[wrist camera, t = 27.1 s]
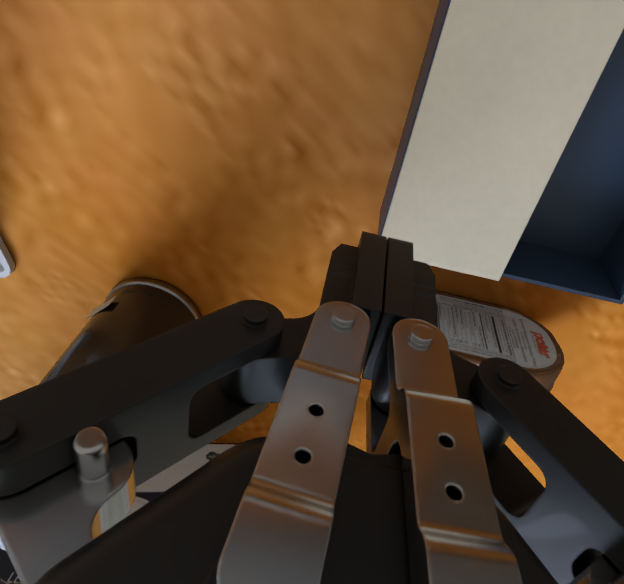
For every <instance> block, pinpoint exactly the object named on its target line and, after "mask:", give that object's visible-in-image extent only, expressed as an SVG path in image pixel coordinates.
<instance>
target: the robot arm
mask: <svg viewBox="0 0 624 584" xmlns="http://www.w3.org/2000/svg"><path fill="white" fill-rule="evenodd" d="M92 315H93V316H92ZM90 316H92V318H91V319H90V320H89V321H88V323H87V324H86V325H85V327H84V328H83V329H82V330H81V332H80V333H79V334H78V335H77V337H76V338H75V339H74V340H73V342H72V343H71V344H70V346H69V347H68V348H67V349H66V351H65V352H64V353H63V354H62V356H61V357H60V358H59V359H58V361H57V362H56V363H55V365H54V366H53V367H52V368H51V370H50V371H49V372H48V373H47V375H46V376H45V377H44V379H43V380H42V381H41V382H40V384H39V385H37V386H34V387H32V388H29V389H27V390H25V391H22V392H20V393H17V394H15V395H13V396H10V397H8V398H5V399H3V400H0V549H2V550H6V551H7V554H8V556H9V558H10V560H11V562H12V564H13V566H14V569H15V571H16V573H17V575H18V577H19V579H20V581H21V583H22V584H624V462H623V461H622V460H621V459H620V458H619V457H618V456H617V455H616V454H615V453H614V452H613V451H612V450H611V449H609V448H608V447H607V446H606V445H605V444H604V443H603V442H602V441H601V440H600V439H599V438H598V437H597V436H596V435H595V434H593V433H592V432H591V431H590V430H589V429H588V428H587V427H586V426H585V425H584V424H583V423H582V422H581V421H580V420H579V419H577V418H576V417H575V416H574V415H573V414H572V413H571V412H570V411H569V410H568V409H567V408H566V407H565V406H564V405H563V404H562V403H560V402H559V401H558V400H557V399H556V398H555V397H554V396H553V395H552V394H551V393H550V392H549V391H548V390H547V389H546V388H544V387H543V386H542V385H541V384H540V383H539V382H538V381H537V380H536V379H535V378H534V377H533V376H532V375H531V374H530V373H529V372H527V371H526V370H525V369H524V368H523V367H521V366H520V365H518V364H516V363H514V362H512V361H510V360H507V359H504V358H497V357H492V358H487V359H485V360H483V361H482V362H481V363H480V365H479V366H478V365H476V364H474V363H471V362H469V361H467V360H465V359H463V358H461V357H459V356H458V355H456V354H455V353H453V352H452V351H451V350H449V346H448V342H447V339H446V337H445V335H444V334H443V333H442V331H440V330H439V329H438V318H437V303H436V289H435V275H434V273H433V272H432V270H431V269H430V267H429V266H428V264H427V263H423V262H419V261H415V260H414V258H413V243H412V242H407V241H403V240H399V239H394V238H390V237H388V239H387V237H385V236H381V235H377V234H372V233H368V232H364V231H363V232H362V234H361V238H360V241H359V245H358V247H354V246H350V245H345V244H341V245H339V246H338V247H337V248H336V249H335V250H333V251H332V255H331V259H330V264H329V268H328V272H327V276H326V280H325V285H324V289H323V293H322V298H321V302H320V306H319V307H318V308H317V310H316V311H315V312H314V313H313V314H311V315H309V316H306V317H303V318H294V319H284V317H283V315H282V313H281V312H280V311H279V310H278V309H277V308H276V307H275V306H273V305H271V304H269V303H267V302H264V301H260V300H244V301H240V302H237V303H235V304H232V305H230V306H227V307H225V308H223V309H220V310H218V311H215V312H213V313H211V314H208V315H206V316H203V317H201V315H200V313H199V311H198V309H197V308H196V306H195V305H194V304H193V302H192V301H191V300H190V299H189V298H188V297H187V296H186V295H184V294H183V293H182V292H181V291H179V290H178V289H176V288H174V287H173V286H171V285H169V284H166V283H164V282H161V281H158V280H154V279H149V278H133V279H128V280H125V281H123V282H121V283H119V284H118V285H116V286H115V287H114V288H113V290H112V291H111V292H110V293H109V295H108V296H107V298H106V300H105V302H104V303H103V304H102V305H100V306H99V307H97V308H95V309H94V310H93V311H92V312H91V313H90V315H89V316H88V317H87V318H89V317H90ZM87 318H86V319H87ZM362 369H363V373H362V378H364V379H368V380H372V386H371V391H370V393H369V396H368V399H367V402H366V452H365V451H363V450H360V449H358V448H356V447H354V446H352V445H350V444H348V440H349V435H350V430H351V425H352V421H353V416H354V411H355V406H356V402H357V397H358V392H359V388H360V382H361V378H360V375H361V372H362ZM278 402H280V403H279V405H278V408H277V411H276V413H275V416H274V419H273V421H272V424H271V427H270V430H269V432H268V435H267V437H259V438H255V439H250V440H247V441H245V442H242V443H239V444H237V445H235V446H233V447H231V448H229V449H227V450H226V451H224V452H222V453H221V454H219V455H218V456H216V457H215V458H214V459H212V460H211V461H209V462H208V463H206V464H205V465H203V466H202V467H200V468H199V469H197V470H196V471H194V472H193V473H191V474H190V475H188V476H187V477H185V478H184V479H182V480H181V481H179V482H178V483H176V484H175V485H173V486H172V487H170V488H169V489H167V490H166V491H165V492H163V493H162V494H160V495H159V496H157V497H156V498H154V499H153V500H151V501H150V502H148V503H147V504H145V505H144V506H142V507H141V508H139V509H138V510H136V511H135V512H133V513H132V514H130V515H129V516H127V517H126V518H124V516H125V515H126V514H127V513H128V512H129V510H130V509H131V507H132V505H133V503H134V500H135V496H136V487H137V486H139V485H140V484H142V483H144V482H145V481H147V480H149V479H150V478H152V477H154V476H155V475H157V474H159V473H160V472H162V471H164V470H165V469H167V468H169V467H171V466H172V465H174V464H176V463H177V462H179V461H181V460H182V459H184V458H186V457H187V456H189V455H191V454H192V453H194V452H196V451H197V450H199V449H201V448H202V447H204V446H206V445H207V444H209V443H211V442H212V441H214V440H216V439H217V438H219V437H221V436H222V435H224V434H226V433H227V432H229V431H231V430H232V429H234V428H236V427H237V426H239V425H241V424H242V423H244V422H246V421H247V420H249V419H251V418H252V417H254V416H256V415H257V414H259V413H261V412H262V411H264V410H265V409H266V408H267V406H268V404H269V403H278ZM509 436H510V437H511V438H512V439H513V440H514V441H515V442H516V443H517V444H518V445H519V446H520V447H521V448H522V449H523V451H524V452H525V453H526V454H527V455H528V456H529V457H530V458H531V459H532V460H533V461H534V462H535V463H536V465H537V466H538V467H539V468H540V469H541V471H542V472H543V474H544V477H545V480H546V487H545V488H544V487H543V486H542V484H541V483H540V482H539V481H538V480H537V479H536V478H535V477H534V476H533V475H532V473H531V472H530V471H529V470H528V469H527V468H526V467H525V466H524V465H523V464H522V462H521V461H520V460H519V459H518V458H517V457H516V456H515V455H514V454H513V453H512V451H511V450H510V449H509V448H508V447H507V446H506V445H505V444H504V443H505V442H506V440H507V439H508V437H509ZM122 518H124V519H123V520H121V519H122ZM120 520H121V521H120ZM119 521H120V522H119ZM116 523H117V524H116ZM0 584H9V583H7V582H6V581H4V580H2V579H0Z"/></svg>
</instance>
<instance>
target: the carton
mask: <svg viewBox="0 0 624 584" xmlns="http://www.w3.org/2000/svg"><path fill="white" fill-rule="evenodd" d="M450 2H451V0H440V3H439V6H438V10H437V13H436V17H435V20H434V24H433V27H432V31H431V34H430V38H429V41H428V45H427V49H426V52H425V56H424V59H423V63H422V66H421V70H420V73H419V77H418V80H417V84H416V87H415V91H414V94H413V98H412V101H411V105H410V108H409V112H408V115H407V119H406V123H405V126H404V130H403V133H402V137H401V140H400V144H399V147H398V151H397V154H396V158H395V161H394V165H393V168H392V172H391V175H390V179H389V182H388V186H387V189H386V193H385V197H384V200H383V204H382V207H381V211H380V219H379V228H378V235H382V232H383V229H384V225H385V222H386V219H387V215H388V212H389V208H390V205H391V202H392V198H393V195H394V191H395V188H396V185H397V181H398V178H399V175H400V171H401V168H402V164H403V161H404V158H405V154H406V151H407V147H408V144H409V141H410V137H411V134H412V130H413V127H414V124H415V120H416V117H417V114H418V110H419V107H420V103H421V100H422V97H423V93H424V90H425V86H426V83H427V80H428V76H429V73H430V70H431V66H432V63H433V59H434V56H435V53H436V49H437V46H438V42H439V39H440V36H441V32H442V29H443V25H444V22H445V19H446V15H447V12H448V9H449V5H450ZM502 277H506V278H510V279H515V280H519V281H523V282H528V283H532V284H536V285H541V286H545V287H549V288H553V289H558V290H562V291H566V292H571V293H575V294H579V295H584V296H588V297H592V298H597V299H601V300H605V301H610V302H614V303H618V304H623V302H624V29H623V31H622V33H621V35H620V37H619V39H618V41H617V43H616V45H615V47H614V49H613V51H612V53H611V55H610V57H609V59H608V61H607V63H606V65H605V67H604V69H603V71H602V73H601V75H600V77H599V79H598V81H597V83H596V85H595V88H594V90H593V92H592V94H591V96H590V98H589V100H588V102H587V104H586V106H585V108H584V110H583V112H582V114H581V116H580V118H579V120H578V122H577V124H576V126H575V128H574V130H573V132H572V134H571V136H570V138H569V140H568V142H567V144H566V146H565V148H564V150H563V152H562V154H561V156H560V158H559V160H558V162H557V164H556V166H555V168H554V171H553V173H552V175H551V177H550V179H549V181H548V183H547V185H546V187H545V189H544V191H543V193H542V195H541V197H540V199H539V201H538V203H537V205H536V207H535V209H534V211H533V213H532V215H531V217H530V219H529V221H528V223H527V225H526V227H525V229H524V231H523V233H522V235H521V237H520V239H519V241H518V243H517V245H516V247H515V249H514V251H513V253H512V256H511V258H510V260H509V262H508V264H507V266H506V268H505V270H504V272H503V274H502Z"/></svg>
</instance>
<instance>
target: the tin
mask: <svg viewBox="0 0 624 584" xmlns="http://www.w3.org/2000/svg"><path fill="white" fill-rule="evenodd" d="M436 303H437V318H438V329H439V330H440V331H442V333H443V334H444V335H445V337H446V339H447V342H448V346H449V350H451V351H452V352H453V353H455V354H456V355H458V356H459V357H461V358H463V359H465V360H467V361H469V362H471V363H474V364H476V365H478V366H479V365H480V363H481V362H482V361H483V360H485V359H487V358H492V357H497V358H504V359H507V360H510V361H512V362H514V363H516V364H518V365H520V366H521V367H523V368H524V369H525V370H526V371H527V372H529V373H530V374H531V375H532V376H533V377H534V378H535V379H536V380H537V381H538V382H539V383H540V384H541V385H542V386H543V387H544V388H546V389H547V390H548V391H549V392H550V391H551V389H552V388H553V385H554V382H555V380H556V378H557V377H558V375H559V373H560V372H561V370H562V367H563V365H564V355H563V352H562V350H561V348H560V346H559V344H558V343H557V341H556V339H555V338H554V336H553V335H552V333H551V332H550V331H549V330H547V329H546V328H545V327H544V326H543V325H541V324H540V323H538V322H537V321H535V320H534V319H532V318H530V317H528V316H526V315H524V314H522V313H520V312H518V311H515V310H512V309H509V308H505V307H501V306H497V305H493V304H489V303H485V302H480V301H476V300H472V299H468V298H464V297H460V296H455V295H451V294H447V293H443V292H438V291H436Z"/></svg>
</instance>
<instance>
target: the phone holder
mask: <svg viewBox="0 0 624 584" xmlns="http://www.w3.org/2000/svg"><path fill="white" fill-rule="evenodd" d="M14 269H15V263H14V261H13V259H12V257H11V255H10V253H9V251H8V249H7V247H6V245H5V243H4V242H3V240H2V238H1V236H0V278H4V277H7V276H9V275H10V274H11V273H12V272H13V271H14Z"/></svg>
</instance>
